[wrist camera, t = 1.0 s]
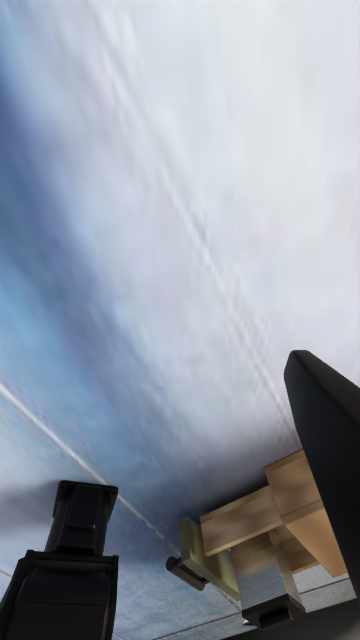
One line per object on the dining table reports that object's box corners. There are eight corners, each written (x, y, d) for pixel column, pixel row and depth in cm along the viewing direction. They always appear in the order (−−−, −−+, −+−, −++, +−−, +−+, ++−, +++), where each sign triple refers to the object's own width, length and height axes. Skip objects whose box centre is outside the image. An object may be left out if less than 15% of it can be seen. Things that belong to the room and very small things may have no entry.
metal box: (241, 546, 36) (263, 639, 29) (225, 532, 35) (244, 627, 27) (278, 531, 35) (310, 623, 28) (263, 516, 34) (293, 609, 26)
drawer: (205, 571, 41) (210, 611, 37) (151, 532, 36) (150, 575, 32) (326, 520, 37) (345, 559, 33) (286, 469, 32) (303, 509, 28)
